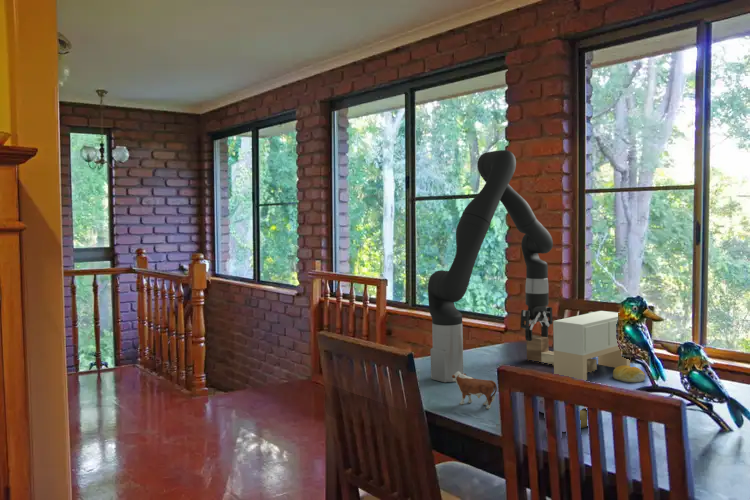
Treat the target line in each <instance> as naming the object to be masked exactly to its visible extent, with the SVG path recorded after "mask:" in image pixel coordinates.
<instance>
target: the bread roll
mask: <svg viewBox="0 0 750 500" xmlns="http://www.w3.org/2000/svg"><path fill="white" fill-rule="evenodd" d="M612 378H613V379H614V380H617V381H622V382H623V383H624V382H625V383H640V382H643V381H645V379H646V373H645V372H644V371H643V370H642V369H641V368H639V367H637V366H631V365H630V366H626V365H623V366H618V367H616V368H614V369H613V372H612Z"/></svg>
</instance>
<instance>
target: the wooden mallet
mask: <svg viewBox="0 0 750 500" xmlns="http://www.w3.org/2000/svg"><path fill="white" fill-rule="evenodd" d="M549 347H550V345H549V336H548V337H541V336H540V335H534V334H532V341H527V340H526V360H527V359H528V360H527V361H529V360H534V361H539V362H544V363H548V364H547V365H549V364H552V365H551V366H554V351H551V350H549V349H550V348H549ZM534 361H533V362H534ZM539 362H538V363H539ZM544 363H543V364H544ZM595 370H598V358H597V359H596V358H590V359H587V373H588V372H590V373H593V372H596V371H595ZM592 371H593V372H592Z"/></svg>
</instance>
